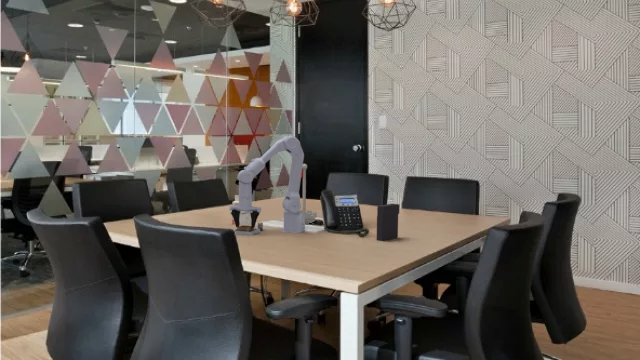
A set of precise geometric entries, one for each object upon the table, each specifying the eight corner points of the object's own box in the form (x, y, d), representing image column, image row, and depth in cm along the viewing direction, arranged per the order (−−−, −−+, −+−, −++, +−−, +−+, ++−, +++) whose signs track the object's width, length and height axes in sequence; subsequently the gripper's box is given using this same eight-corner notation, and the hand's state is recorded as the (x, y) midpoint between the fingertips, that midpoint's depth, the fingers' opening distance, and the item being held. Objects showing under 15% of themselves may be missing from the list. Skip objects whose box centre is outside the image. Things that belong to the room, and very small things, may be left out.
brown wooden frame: (248, 234, 249) (248, 227, 248) (237, 233, 250) (237, 227, 250) (254, 232, 255) (254, 225, 255) (243, 231, 257) (243, 224, 256)
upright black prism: (391, 236, 249) (391, 203, 248) (399, 238, 246) (399, 204, 245) (375, 240, 241) (375, 205, 240) (383, 241, 238) (383, 206, 237)
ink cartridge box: (231, 225, 276) (231, 195, 274) (234, 224, 280) (234, 194, 279) (248, 226, 275) (248, 196, 274) (251, 224, 280) (251, 195, 278)
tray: (260, 233, 256) (260, 228, 255) (251, 236, 246) (251, 232, 246) (240, 231, 258) (240, 227, 258) (231, 235, 249) (231, 230, 249)
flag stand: (305, 219, 297) (305, 162, 295) (321, 222, 288) (322, 164, 285) (286, 222, 288) (286, 163, 286) (302, 225, 279) (303, 164, 276)
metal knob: (267, 230, 261) (267, 222, 261) (263, 232, 257) (263, 224, 256) (257, 230, 263) (257, 221, 262) (252, 232, 258) (252, 223, 258)
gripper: (226, 197, 249) (226, 227, 250) (256, 198, 245) (256, 229, 246) (233, 195, 256) (233, 225, 257) (262, 197, 251) (263, 227, 252)
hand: (245, 227), depth 252 cm, fingers open, 7 cm apart
